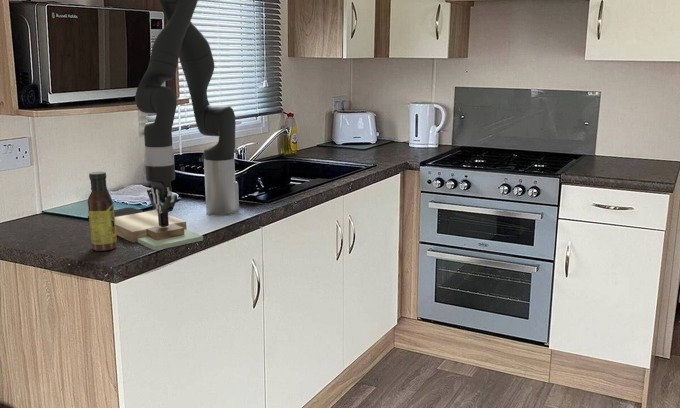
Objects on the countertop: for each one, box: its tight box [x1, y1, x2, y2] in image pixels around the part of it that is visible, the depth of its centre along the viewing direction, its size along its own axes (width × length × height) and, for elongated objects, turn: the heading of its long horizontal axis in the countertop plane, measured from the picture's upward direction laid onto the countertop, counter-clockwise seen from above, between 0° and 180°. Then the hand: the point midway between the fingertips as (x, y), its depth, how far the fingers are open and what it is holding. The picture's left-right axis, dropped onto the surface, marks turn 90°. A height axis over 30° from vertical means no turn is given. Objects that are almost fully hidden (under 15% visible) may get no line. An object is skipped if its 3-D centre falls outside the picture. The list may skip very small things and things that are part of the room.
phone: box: [87, 206, 143, 219], centre depth 210 cm, size 8×1×15 cm
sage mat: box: [137, 229, 204, 251], centre depth 183 cm, size 14×10×1 cm
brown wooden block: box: [146, 224, 185, 241], centre depth 184 cm, size 8×6×2 cm
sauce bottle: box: [87, 171, 118, 252], centre depth 175 cm, size 7×6×20 cm
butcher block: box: [115, 209, 188, 244], centre depth 193 cm, size 16×18×3 cm
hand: (163, 226), depth 184 cm, fingers closed
